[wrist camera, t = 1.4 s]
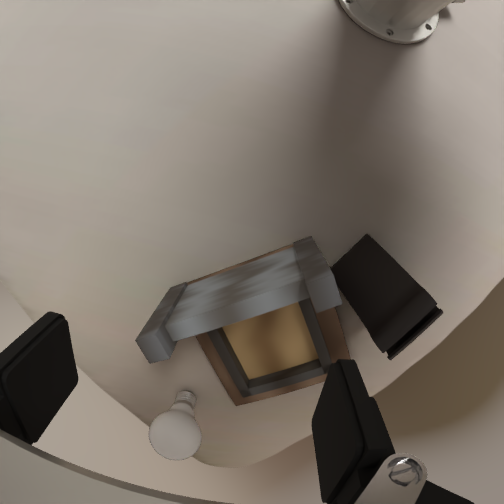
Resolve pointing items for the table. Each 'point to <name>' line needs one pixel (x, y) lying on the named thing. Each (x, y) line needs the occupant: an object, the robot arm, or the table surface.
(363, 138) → the table surface
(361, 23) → the robot arm
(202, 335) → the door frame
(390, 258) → the phone stand
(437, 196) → the table surface
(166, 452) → the lightbulb
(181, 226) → the table surface
